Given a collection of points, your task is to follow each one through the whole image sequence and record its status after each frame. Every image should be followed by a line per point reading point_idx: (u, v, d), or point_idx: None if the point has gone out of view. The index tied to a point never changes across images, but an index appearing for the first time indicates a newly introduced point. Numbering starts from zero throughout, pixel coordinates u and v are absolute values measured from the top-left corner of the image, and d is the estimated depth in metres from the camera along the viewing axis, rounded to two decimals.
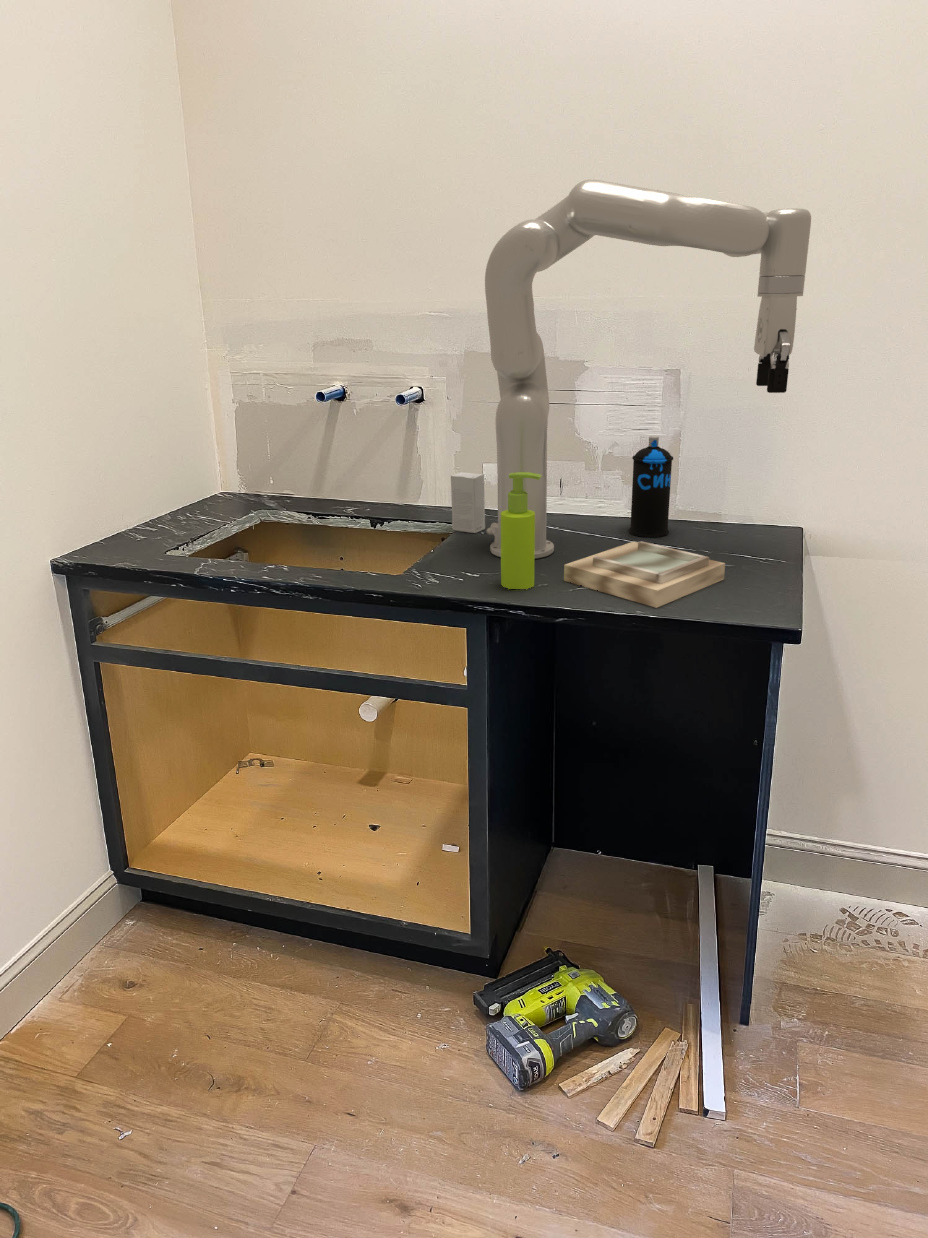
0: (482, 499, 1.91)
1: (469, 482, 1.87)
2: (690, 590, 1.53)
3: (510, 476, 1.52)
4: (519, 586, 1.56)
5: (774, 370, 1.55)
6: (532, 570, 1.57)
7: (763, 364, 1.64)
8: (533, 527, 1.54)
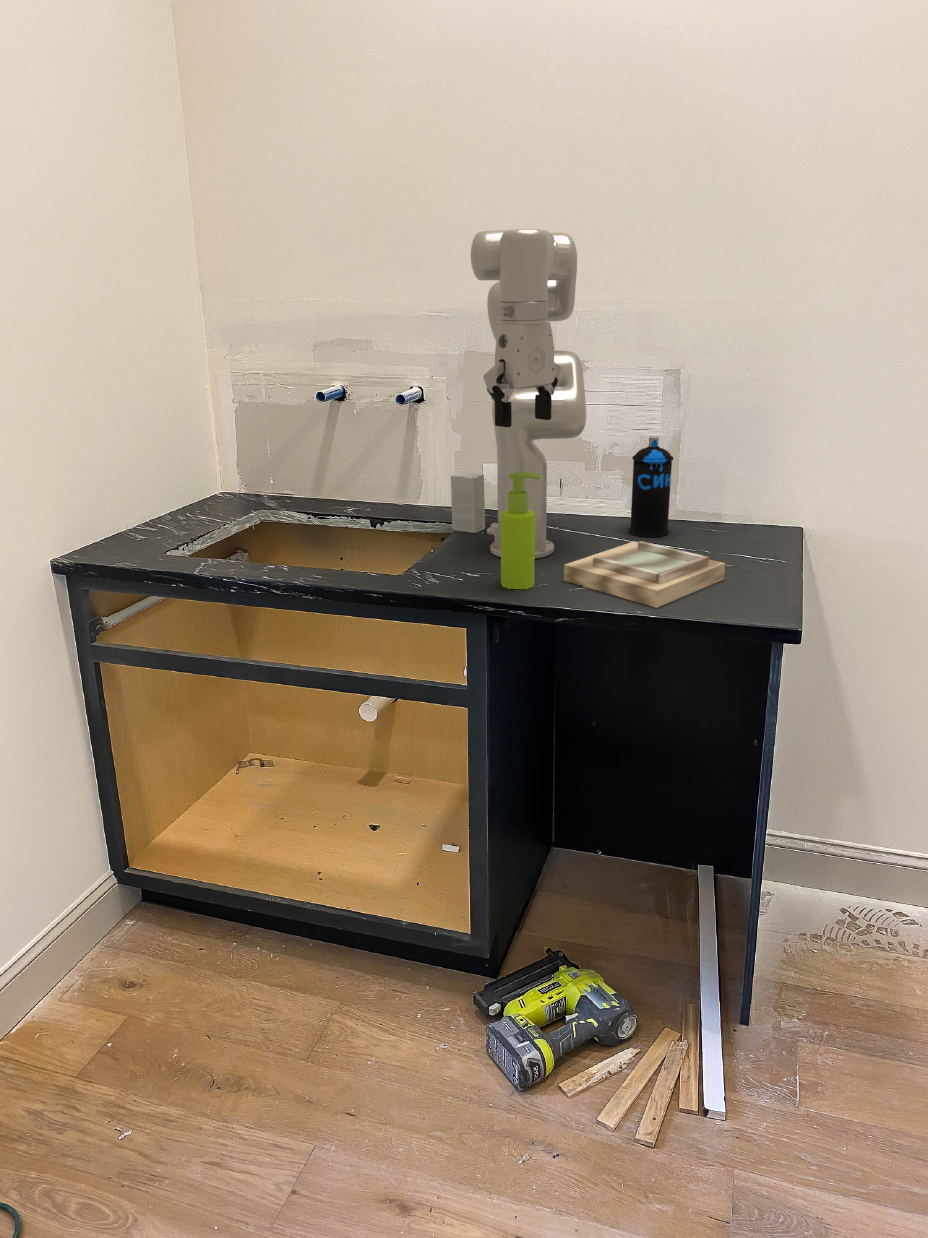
0: (482, 499, 1.91)
1: (469, 482, 1.87)
2: (690, 590, 1.53)
3: (510, 476, 1.52)
4: (519, 586, 1.56)
5: None
6: (532, 570, 1.57)
7: None
8: (533, 527, 1.54)
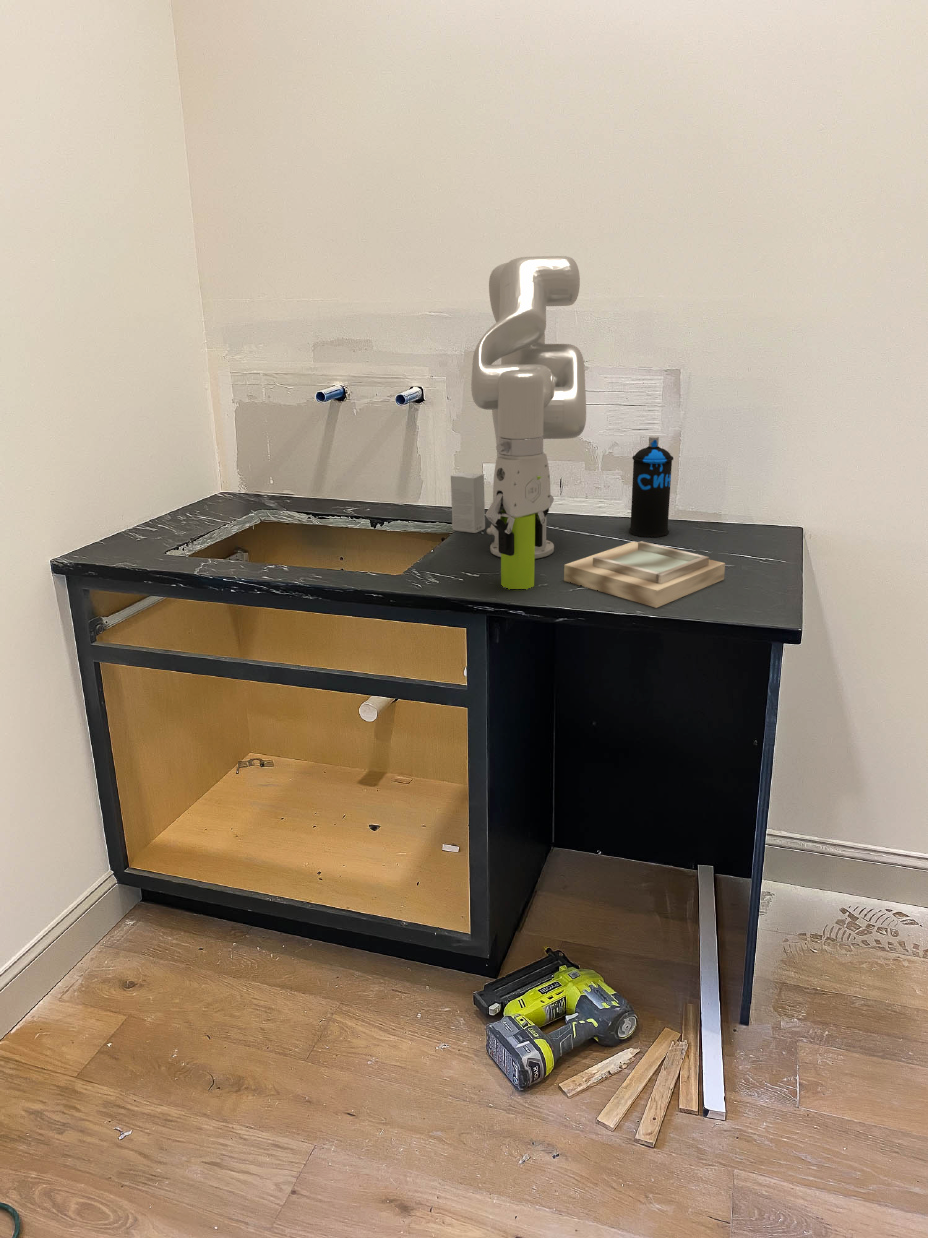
0: (482, 499, 1.91)
1: (469, 482, 1.88)
2: (690, 590, 1.53)
3: None
4: (519, 586, 1.56)
5: None
6: (532, 570, 1.57)
7: None
8: (533, 527, 1.54)
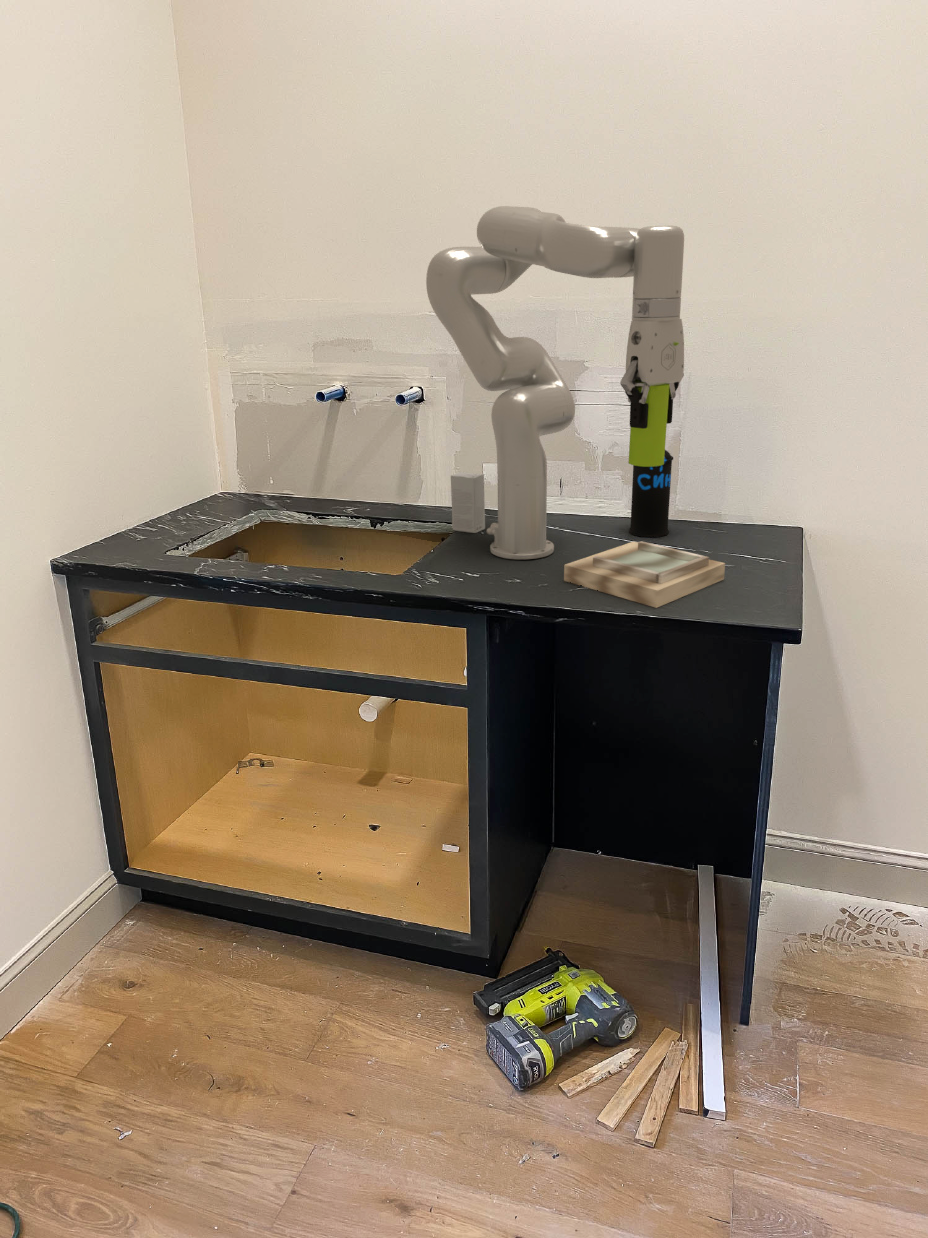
0: (482, 499, 1.91)
1: (469, 482, 1.88)
2: (690, 590, 1.53)
3: None
4: (650, 462, 1.49)
5: None
6: (663, 446, 1.49)
7: None
8: (667, 398, 1.47)
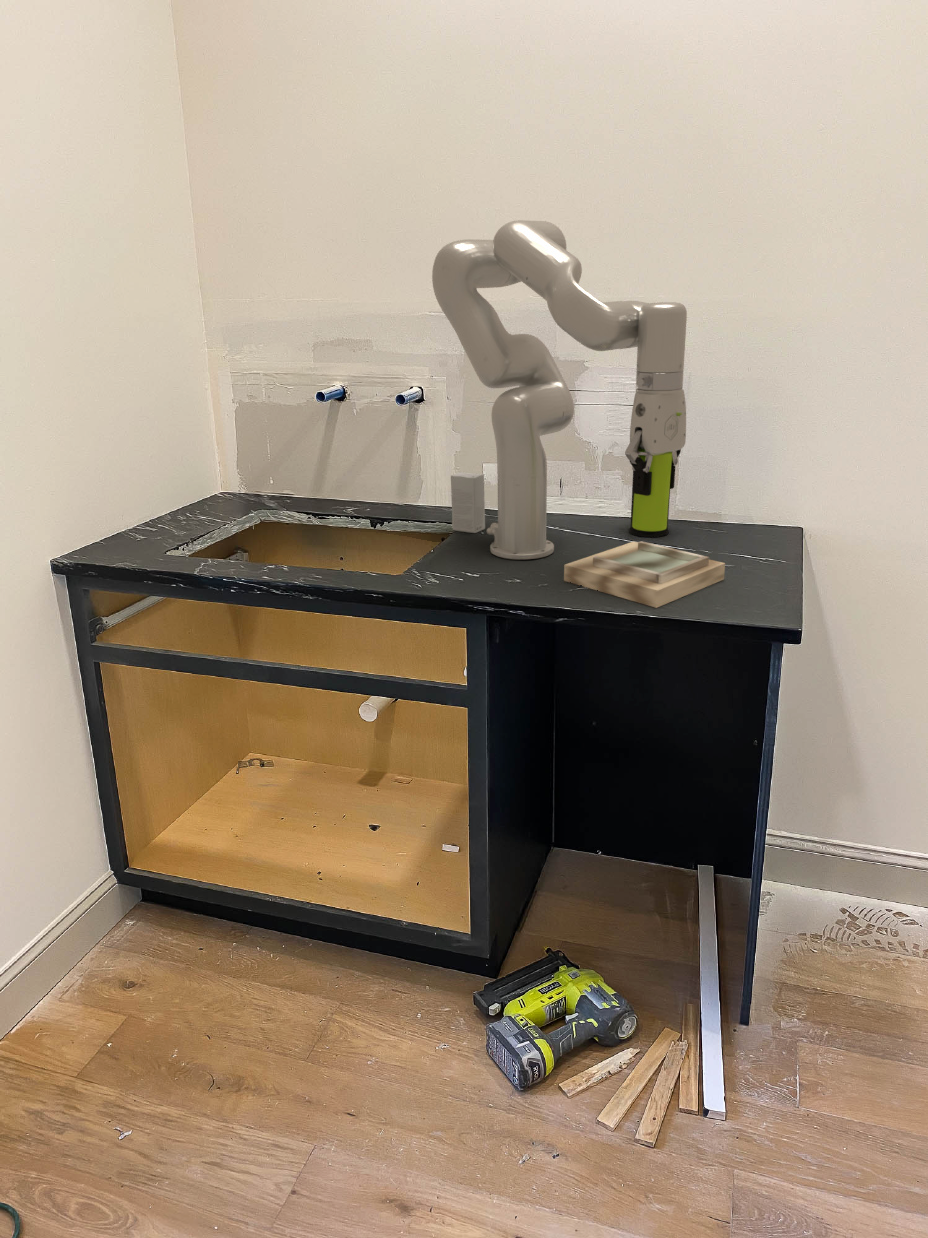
0: (482, 499, 1.91)
1: (469, 482, 1.88)
2: (690, 590, 1.53)
3: None
4: (653, 527, 1.53)
5: None
6: (666, 511, 1.54)
7: None
8: (670, 466, 1.51)
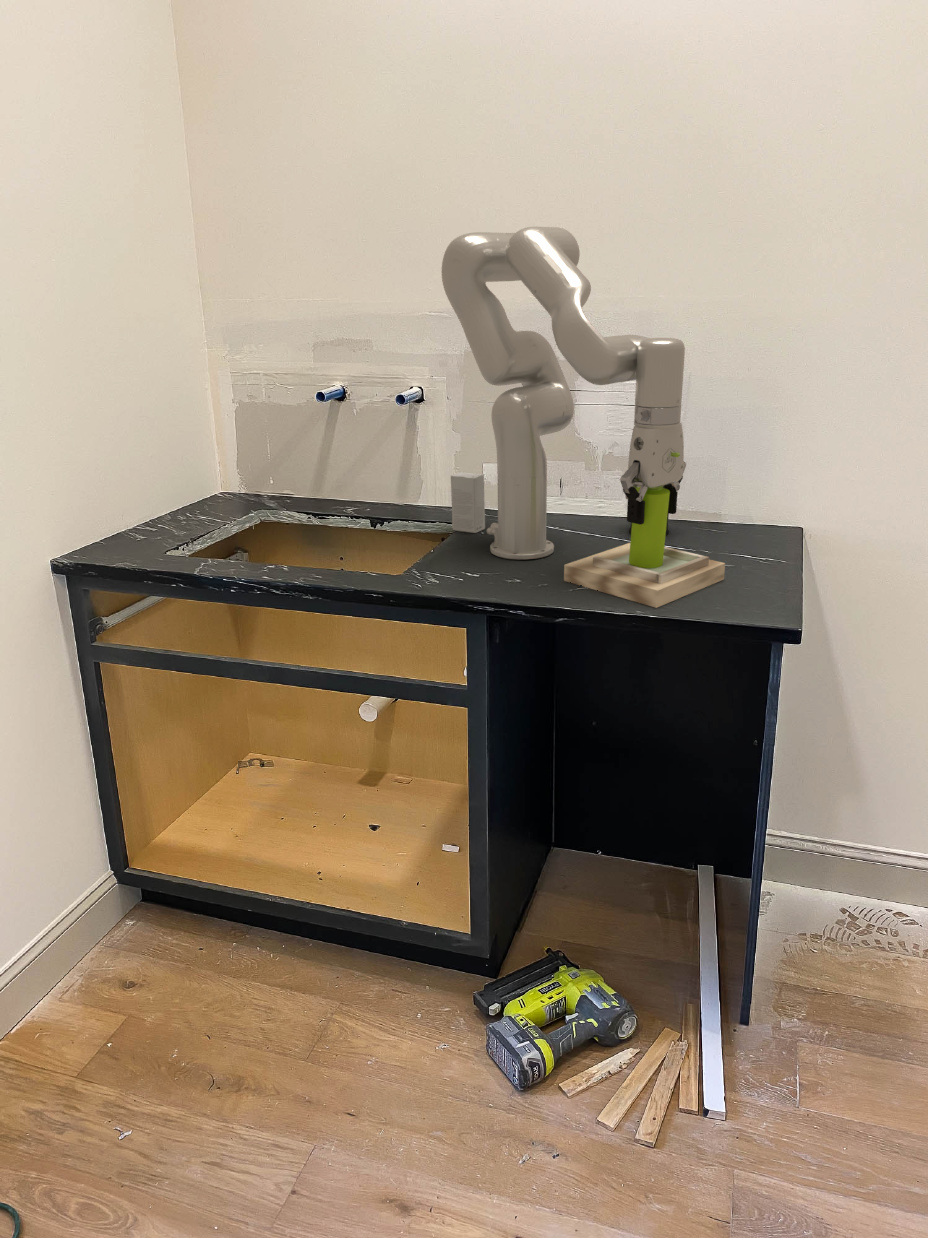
0: (482, 499, 1.91)
1: (469, 482, 1.88)
2: (690, 590, 1.53)
3: None
4: (650, 564, 1.56)
5: None
6: (663, 548, 1.56)
7: None
8: (667, 505, 1.53)
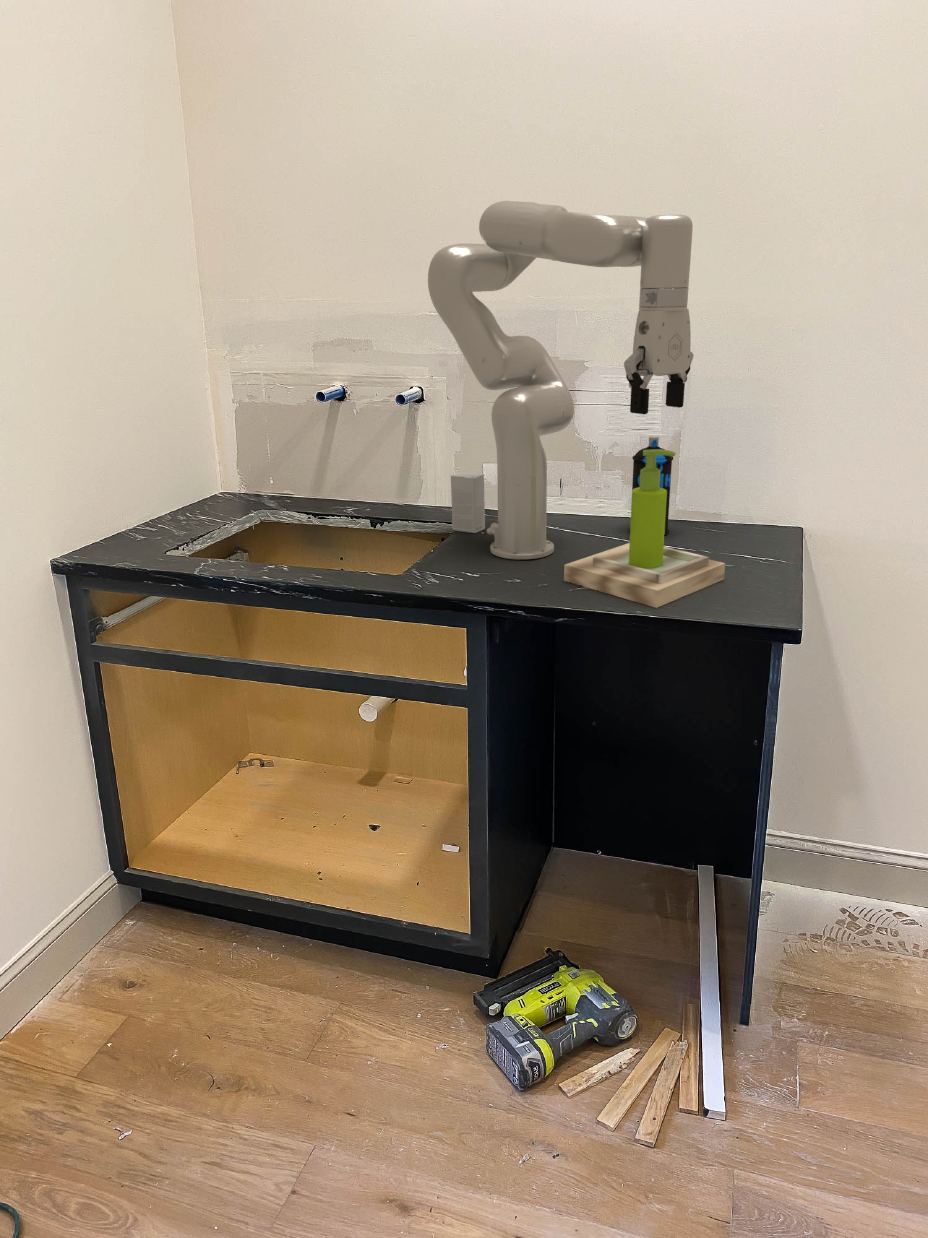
0: (482, 499, 1.91)
1: (469, 482, 1.87)
2: (690, 590, 1.53)
3: (644, 453, 1.51)
4: (649, 564, 1.56)
5: None
6: (662, 548, 1.56)
7: None
8: (665, 505, 1.54)
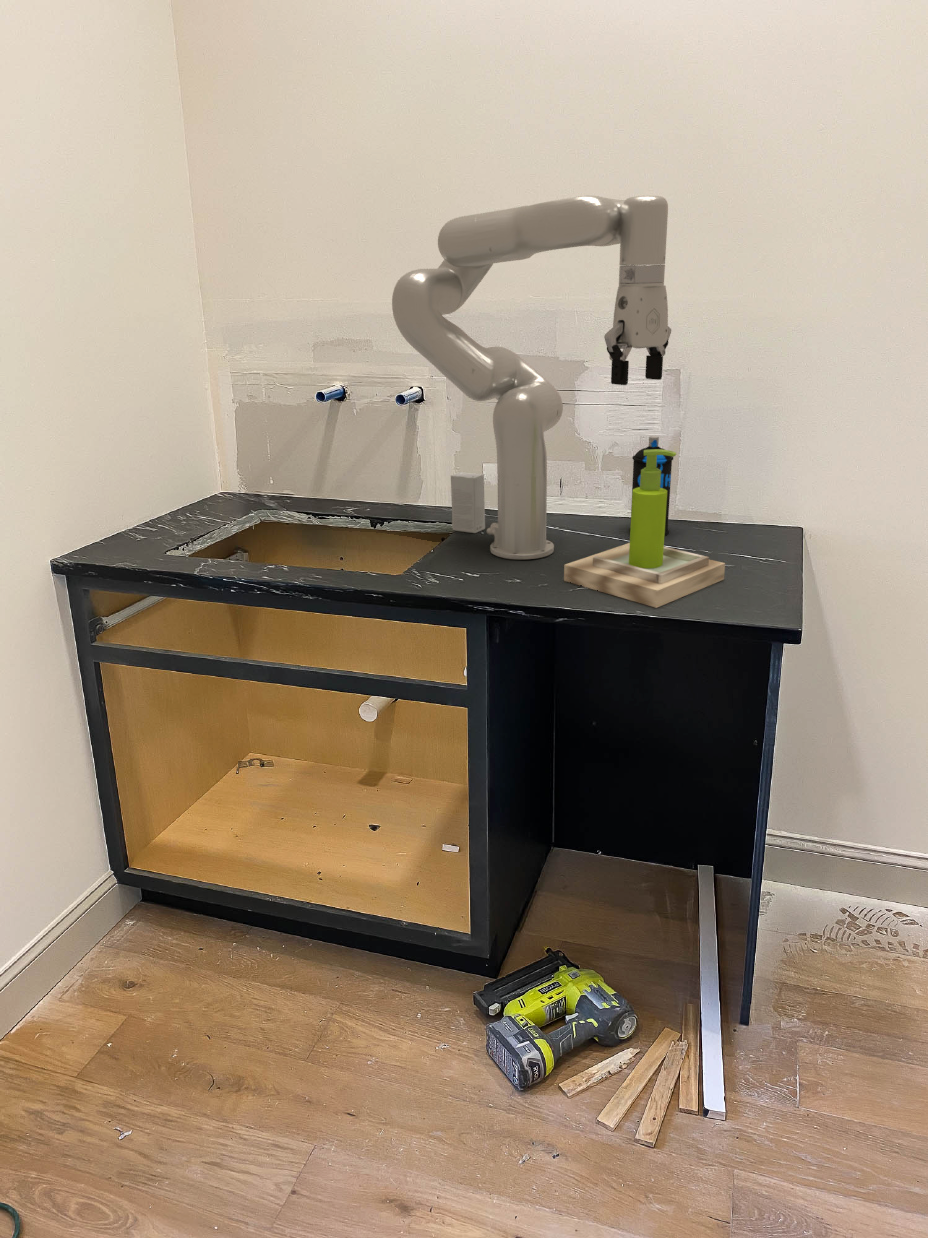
0: (482, 499, 1.91)
1: (469, 482, 1.87)
2: (690, 590, 1.53)
3: (645, 453, 1.51)
4: (649, 564, 1.56)
5: None
6: (662, 548, 1.56)
7: (625, 361, 1.53)
8: (665, 505, 1.54)
